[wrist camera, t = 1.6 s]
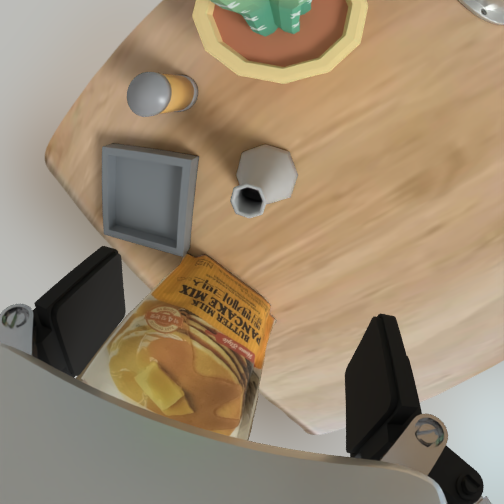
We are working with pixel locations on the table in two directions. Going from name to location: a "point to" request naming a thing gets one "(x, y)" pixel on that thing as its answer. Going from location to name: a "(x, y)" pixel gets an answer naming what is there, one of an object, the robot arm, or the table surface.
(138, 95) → the fuse
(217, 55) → the potted cactus
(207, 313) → the pancake mix bag
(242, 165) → the flask
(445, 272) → the table surface
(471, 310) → the table surface
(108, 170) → the tray
